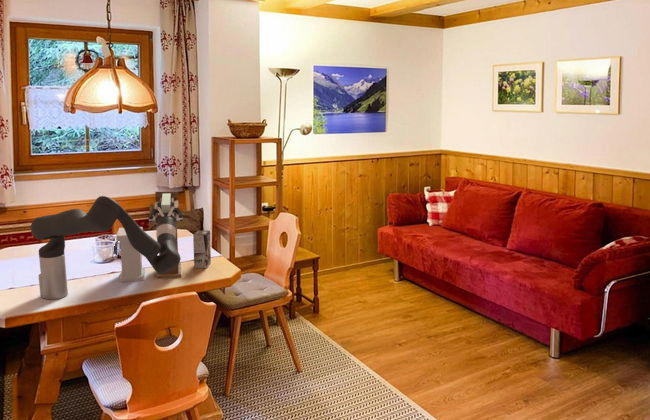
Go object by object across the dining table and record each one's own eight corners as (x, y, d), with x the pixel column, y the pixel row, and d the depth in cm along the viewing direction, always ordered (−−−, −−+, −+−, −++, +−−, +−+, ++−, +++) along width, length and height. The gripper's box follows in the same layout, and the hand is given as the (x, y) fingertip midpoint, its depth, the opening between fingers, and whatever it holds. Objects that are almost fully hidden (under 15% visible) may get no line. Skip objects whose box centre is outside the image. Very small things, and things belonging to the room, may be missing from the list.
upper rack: (181, 278, 256) (177, 199, 249) (157, 280, 254) (153, 199, 246) (180, 265, 275) (177, 190, 268) (158, 266, 273) (155, 191, 265)
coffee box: (207, 268, 272) (206, 235, 268) (193, 268, 272) (192, 234, 268) (211, 262, 281) (210, 230, 277) (198, 262, 281) (197, 229, 277)
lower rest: (143, 281, 253) (140, 234, 248) (119, 282, 250) (116, 235, 246) (144, 271, 266) (142, 226, 261) (122, 272, 263) (119, 227, 259)
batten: (170, 213, 240) (169, 204, 240) (161, 213, 240) (161, 205, 239) (170, 200, 265) (170, 193, 264) (162, 201, 264) (162, 193, 263)
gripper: (184, 223, 231) (183, 195, 244) (147, 225, 228) (147, 196, 240) (184, 237, 236) (183, 208, 249) (148, 238, 233) (148, 210, 245)
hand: (165, 203), depth 244 cm, fingers open, 4 cm apart
